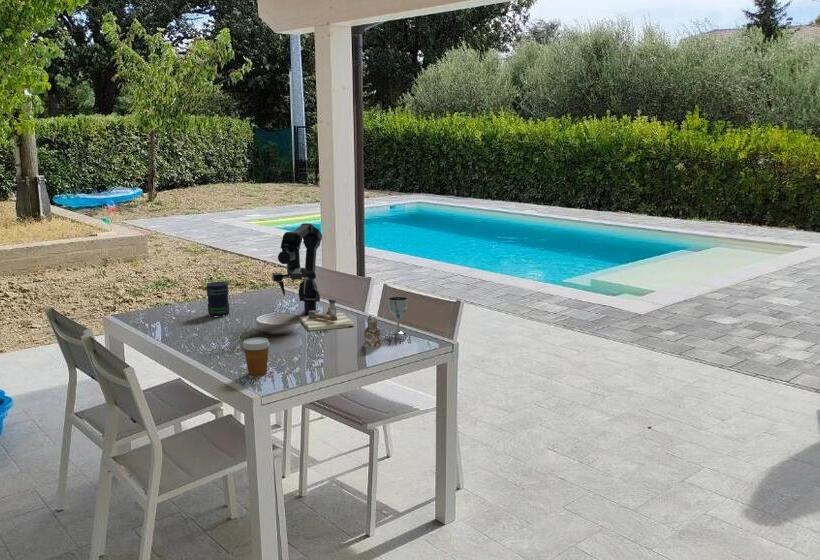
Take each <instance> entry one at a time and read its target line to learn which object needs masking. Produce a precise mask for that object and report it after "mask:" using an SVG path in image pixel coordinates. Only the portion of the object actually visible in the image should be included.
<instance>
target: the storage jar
mask: <svg viewBox="0 0 820 560" xmlns="http://www.w3.org/2000/svg"><path fill="white" fill-rule="evenodd" d="M206 296H207V302H208V303H207V313H208V314H209V315H210V316H223V315H228V314H229V315H230V303H229V285H228V282H227V281H213V282H208V283H206ZM209 315H208V316H209ZM229 315H228V316H229Z"/></svg>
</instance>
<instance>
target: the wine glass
mask: <svg viewBox="0 0 820 560" xmlns="http://www.w3.org/2000/svg"><path fill="white" fill-rule="evenodd" d="M388 307H389V311H390V314H392V315H393V316H394V318H395V319H396V325H397V327H396V329H397V330H392V331H393V332H392V331H391V332H392V333H394V334H403V335H405V334H404V333H406V332H407V331H406V332H405V330H400V321H401V318H402V317H403V315H405V313H407V308H408V297H406V296H402V295H399V296H398V295H397V296H396V295H395V296H391V297H388ZM406 334H407V333H406Z"/></svg>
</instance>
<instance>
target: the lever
mask: <svg viewBox="0 0 820 560" xmlns="http://www.w3.org/2000/svg"><path fill="white" fill-rule="evenodd" d="M336 301H337V300H336V298H331V299H328V303H329V307H330V315H326V313H322V312H321V313H320V312H318V310H317V311H309V315H308V316H309V318H320V319H325V320H329V321H337V317H336V316H335V308H336ZM317 312H318V313H317Z"/></svg>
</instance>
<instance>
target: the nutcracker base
mask: <svg viewBox="0 0 820 560" xmlns="http://www.w3.org/2000/svg"><path fill="white" fill-rule="evenodd" d="M325 314H326V315H330V306H327V311H326V313H325ZM335 316H336V317H337V321H329V320H325V319H320V318H309V315H305V316H300V317H299V319H301V320H300V322H301V323H302V324H303V325H304V326H305V328H306V329H307V331H321V330H329V329H330V330H331V329H340V328H341V329H342V328H350V327H349V326H354V327H355V323H354V322H353V320H351V319H350V318H349V317H348V316H347V315H345V313H344V312H341V313H337V308H336V307H335Z"/></svg>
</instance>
